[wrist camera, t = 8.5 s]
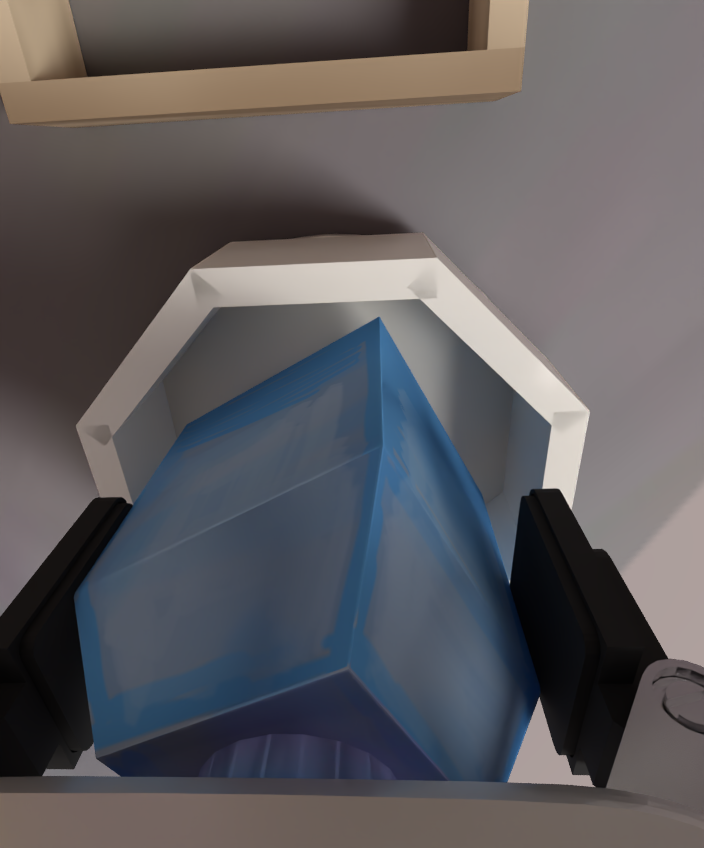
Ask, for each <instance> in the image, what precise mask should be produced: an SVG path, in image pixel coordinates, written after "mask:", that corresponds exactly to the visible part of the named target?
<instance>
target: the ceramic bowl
mask: <svg viewBox="0 0 704 848" xmlns="http://www.w3.org/2000/svg"><path fill="white" fill-rule="evenodd" d="M377 317H380V318H381V320H382V322H383V324H384V325H385V327H386V329H387V331H388V332H389V334H390V336H391V337H392V339H393V341H394V343H395V344H396V346H397V348H398V350H399V351H400V353H401V355H402V357H403V358H404V360H405V362H406V363H407V365H408V367H409V369H410V370H411V372H412V374H413V376H414V377H415V379H416V381H417V382H418V384H419V386H420V388H421V389H422V391H423V393H424V395H425V396H426V398H427V400H428V402H429V403H430V405H431V407H432V408H433V410H434V412H435V414H436V415H437V417H438V419H439V421H440V422H441V424H442V426H443V427H444V429H445V431H446V433H447V434H448V436H449V438H450V440H451V441H452V443H453V445H454V447H455V448H456V450H457V452H458V453H459V455H460V457H461V459H462V460H463V462H464V464H465V466H466V467H467V469H468V471H469V472H470V474H471V476H472V478H473V479H474V481H475V483H476V485H477V486H478V488H479V490H480V492H481V493H482V496H483V499H484V502H485V506H486V509H487V512H488V515H489V519H490V522H491V525H492V528H493V531H494V535H495V538H496V541H497V544H498V548H499V551H500V554H501V557H502V561H503V564H504V567H505V570H506V574H507V577H508V580H509V583H510V578H511V570H512V562H513V554H514V547H515V539H516V531H517V523H518V515H519V507H520V500H521V497H522V496H529V493H530V490H531V489H548V488H558V489H560V491H561V492H562V494H563V496H564V498H565V499H566V501H567V503H568V505H569V507H570V509H571V510H572V505H573V499H574V494H575V489H576V483H577V478H578V472H579V467H580V462H581V456H582V451H583V446H584V440H585V435H586V430H587V424H588V419H589V414H590V410H589V409H588V408H587V407H586V405H585V404H584V403H583V402H582V400H581V399H580V398H579V397H578V396H577V394H576V393H575V392H574V391H573V389H572V388H571V387H570V386H569V385H568V383H567V382H566V381H565V380H564V378H563V377H562V376H561V375H560V374H559V372H558V371H557V370H556V369H555V367H554V366H553V365H552V364H551V363H550V361H549V360H548V359H547V358H546V357H545V356H544V355H543V354H542V353H541V352H540V351H539V350H538V349H537V348H536V347H535V346H534V345H533V344H532V343H531V342H530V341H529V340H528V339H527V338H526V337H525V336H524V335H523V334H522V333H521V332H520V331H519V330H518V329H517V328H516V327H515V326H514V325H513V324H512V323H511V322H510V320H509V319H508V318H507V317H506V316H505V315H504V314H503V313H502V312H501V311H500V310H499V309H498V308H497V307H496V306H495V305H494V304H493V303H492V302H491V301H490V300H489V299H488V298H487V296H486V295H485V294H484V293H483V292H482V291H481V290H480V289H479V288H477V287H476V286H475V285H474V284H473V283H472V282H471V281H470V280H469V279H468V278H467V277H466V276H465V275H464V274H463V273H462V272H461V271H460V270H459V269H458V268H457V267H456V266H455V265H454V264H453V263H452V262H451V261H450V260H449V259H448V258H447V257H446V256H445V255H444V254H443V253H442V252H441V251H440V250H439V249H438V247H437V246H436V245H435V244H434V243H433V242H432V241H431V240H430V239H429V238H428V237H427V236H426V235H425V234H424V233H423V232H422V233H403V234H382V235H358V234H322V235H313V236H305V237H298V238H294V239H280V240H260V241H239V242H232V241H231V242H230V243H228V244H227V245H225V246H224V247H222V248H221V249H219V250H218V251H216V252H215V253H213V254H212V255H210V256H209V257H207V258H206V259H204V260H203V261H201V262H200V263H198V264H197V265H195V266H194V267H192V268H191V269H190V270H189V271H188V273H187V274H186V276H185V277H184V278H183V280H182V281H181V282H180V284H179V285H178V287H177V288H176V289H175V291H174V292H173V293H172V295H171V296H170V297H169V299H168V300H167V302H166V303H165V304H164V306H163V307H162V308H161V310H160V311H159V313H158V314H157V315H156V317H155V318H154V319H153V321H152V322H151V324H150V325H149V326H148V328H147V329H146V330H145V332H144V333H143V334H142V336H141V337H140V339H139V340H138V341H137V343H136V344H135V345H134V347H133V348H132V350H131V351H130V352H129V354H128V355H127V356H126V358H125V359H124V360H123V362H122V363H121V365H120V366H119V367H118V369H117V370H116V371H115V373H114V374H113V376H112V377H111V378H110V380H109V381H108V382H107V384H106V385H105V387H104V388H103V389H102V391H101V392H100V393H99V395H98V396H97V397H96V399H95V400H94V402H93V403H92V404H91V406H90V407H89V408H88V410H87V411H86V413H85V414H84V415H83V417H82V418H81V419H80V421H79V422H78V423H77V425H75V427H76V429H77V432H78V434H79V437H80V440H81V443H82V446H83V449H84V452H85V454H86V457H87V460H88V463H89V466H90V469H91V472H92V475H93V477H94V480H95V483H96V486H97V489H98V492H99V495H100V497H122V498H124V499H125V500H126V502H127V503H130V504H132V505H133V504H134V502H135V501H136V499H137V498H138V496H139V495H140V493H141V492H142V490H143V489H144V487H145V486H146V484H147V483H148V481H149V480H150V478H151V477H152V475H153V474H154V472H155V471H156V469H157V468H158V467H159V465H160V464H161V462H162V461H163V459H164V458H165V456H166V455H167V453H168V452H169V450H170V449H171V447H172V446H173V444H174V443H175V441H176V440H177V438H178V437H179V435H180V434H181V432H182V431H183V429H184V428H185V426H186V425H187V424H188V423H190V422H192V421H194V420H196V419H197V418H199V417H201V416H203V415H205V414H206V413H208V412H210V411H212V410H213V409H215V408H217V407H219V406H221V405H222V404H224V403H226V402H228V401H229V400H231V399H233V398H235V397H237V396H238V395H240V394H242V393H244V392H246V391H247V390H249V389H251V388H253V387H254V386H256V385H258V384H260V383H262V382H263V381H265V380H267V379H269V378H270V377H272V376H274V375H276V374H278V373H279V372H281V371H283V370H285V369H287V368H288V367H290V366H292V365H294V364H295V363H297V362H299V361H301V360H303V359H304V358H306V357H308V356H310V355H311V354H313V353H315V352H317V351H319V350H320V349H322V348H324V347H326V346H328V345H329V344H331V343H333V342H335V341H336V340H338V339H340V338H342V337H344V336H345V335H347V334H349V333H351V332H352V331H354V330H356V329H358V328H360V327H361V326H363V325H365V324H367V323H369V322H370V321H372V320H374V319H376V318H377Z"/></svg>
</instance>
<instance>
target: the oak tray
mask: <svg viewBox="0 0 704 848" xmlns="http://www.w3.org/2000/svg"><path fill="white" fill-rule="evenodd" d="M528 5H529V0H469V21H468V44H467V51H462V52H447V53H433V54H418V55H404V56H389V57H375V58H360V59H346V60H331V61H317V62H302V63H288V64H273V65H258V66H244V67H229V68H215V69H200V70H186V71H171V72H157V73H142V74H128V75H113V76H99V77H87V73H86V69H85V65H84V61H83V57H82V53H81V49H80V45H79V41H78V36H77V32H76V28H75V24H74V20H73V16H72V12H71V8H70V4H69V0H0V94H1V97H2V100H3V103H4V106H5V110H6V113H7V116H8V119H9V122H10V124H21V125H37V126H53V127H69V128H76V127H92V126H108V125H124V124H139V123H155V122H171V121H187V120H203V119H219V118H235V117H250V116H266V115H282V114H298V113H314V112H330V111H345V110H361V109H377V108H393V107H409V106H425V105H440V104H456V103H472V102H488V101H496V100H499V99H501V98H504V97H507V96H509V95H512V94H515V93H517V92H520V91H521V85H522V74H523V63H524V51H525V40H526V28H527V17H528Z"/></svg>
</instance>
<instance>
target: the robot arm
mask: <svg viewBox="0 0 704 848" xmlns="http://www.w3.org/2000/svg"><path fill="white" fill-rule="evenodd" d="M132 507H133V505H132V504H130V503H127V502H126V500H125V499H124V498H122V497H98V498H95V499H94V500H93V501H92V502H91V503H90V504H89V505H88V507H87V508H86V509H85V510H84V512H83V513H82V514H81V515H80V517H79V518H78V519H77V521H76V522H75V523H74V524H73V526H72V527H71V528H70V529H69V531H68V532H67V533H66V534H65V536H64V537H63V538H62V539H61V541H60V542H59V543H58V545H57V546H56V547H55V548H54V550H53V551H52V552H51V553H50V555H49V556H48V557H47V558H46V560H45V561H44V562H43V563H42V565H41V566H40V567H39V569H38V570H37V571H36V572H35V574H34V575H33V576H32V577H31V579H30V580H29V581H28V582H27V584H26V585H25V586H24V587H23V589H22V590H21V591H20V593H19V594H18V595H17V596H16V598H15V599H14V600H13V601H12V603H11V604H10V605H9V606H8V608H7V609H6V610H5V612H4V613H3V614H2V615H1V617H0V848H704V668H703V667H702V666H699V665H696V664H693V663H690V662H688V661H684V660H676V659H668V657H667V656H666V654H665V652H664V650H663V649H662V647H661V645H660V643H659V642H658V640H657V638H656V636H655V635H654V633H653V631H652V629H651V628H650V626H649V624H648V622H647V621H646V619H645V617H644V615H643V614H642V612H641V610H640V608H639V607H638V605H637V603H636V601H635V600H634V598H633V596H632V594H631V593H630V591H629V589H628V588H627V586H626V584H625V582H624V580H623V579H622V577H621V575H620V573H619V572H618V570H617V568H616V566H615V565H614V563H613V561H612V559H611V558H610V556H609V555H608V553H607V552H606V551H604V550H603V549H592V548H591V546H590V544H589V542H588V540H587V538H586V537H585V535H584V533H583V531H582V529H581V527H580V525H579V524H578V522H577V520H576V518H575V516H574V514H573V512H572V511H571V509H570V507H569V505H568V503H567V501H566V499H565V498H564V496H563V494H562V492H561V491H560V489H558V488H548V489H531V490H530V493H529V496H522V497H521V500H520V507H519V515H518V523H517V531H516V539H515V547H514V554H513V562H512V570H511V578H510V590H511V593H512V596H513V599H514V603H515V606H516V609H517V613H518V616H519V619H520V622H521V626H522V629H523V632H524V635H525V639H526V642H527V645H528V649H529V652H530V655H531V658H532V662H533V665H534V668H535V671H536V675H537V678H538V681H539V685H540V692H541V693H540V696H539V697H540V700H541V703H542V707H543V710H544V714H545V717H546V720H547V724H548V727H549V730H550V733H551V737H552V741H553V744H554V746H555V749H556V751H557V753H558V754H559V755H566V756H567V759H568V762H569V765H570V768H571V771H572V774H573V775H590V778H591V781H592V783H593V785H594V786H595V787H586V786H574V785H559V784H531V783H505V782H477V781H423V780H367V779H301V778H219V777H94V776H42V775H43V773H44V772H45V770H46V768H47V769H74V768H75V766H76V764H77V762H78V760H79V758H80V756H81V754H82V752H83V751H86V750H88V749H89V748H90V747H91V746H92V744H93V742H94V740H93V733H92V726H91V718H90V711H89V704H88V697H87V689H86V682H85V675H84V668H83V660H82V653H81V646H80V639H79V632H78V624H77V617H76V610H75V603H74V594H75V592H76V591H77V589H78V588H79V586H80V585H81V583H82V582H83V580H84V579H85V577H86V576H87V574H88V573H89V571H90V570H91V568H92V567H93V565H94V564H95V562H96V561H97V559H98V558H99V556H100V555H101V553H102V552H103V550H104V549H105V547H106V546H107V544H108V543H109V541H110V540H111V538H112V537H113V535H114V534H115V532H116V531H117V529H118V528H119V526H120V525H121V523H122V522H123V520H124V519H125V517H126V516H127V514H128V513H129V511H130V510H131V508H132Z"/></svg>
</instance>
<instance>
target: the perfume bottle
mask: <svg viewBox="0 0 704 848" xmlns="http://www.w3.org/2000/svg"><path fill="white" fill-rule="evenodd" d="M74 603H75V610H76V617H77V624H78V632H79V639H80V646H81V653H82V660H83V668H84V675H85V682H86V689H87V697H88V704H89V711H90V718H91V726H92V733H93V740H94V747H95V755H96V759H98V760H99V761H100V762H102V763H103V764H105V765H106V766H107V767H109V768H110V769H111V770H113V771H114V772H116V773H117V774H118V775H120V776H121V777H219V778H301V779H367V780H423V781H477V782H505V783H507V781H508V779H509V776H510V773H511V771H512V768H513V765H514V763H515V760H516V757H517V755H518V752H519V749H520V747H521V744H522V741H523V739H524V736H525V733H526V731H527V728H528V725H529V723H530V720H531V717H532V715H533V712H534V709H535V707H536V704H537V701H538V698H539V696H540V693H541V692H540V685H539V681H538V678H537V675H536V671H535V668H534V665H533V662H532V658H531V655H530V652H529V649H528V645H527V642H526V639H525V635H524V632H523V629H522V626H521V622H520V619H519V616H518V613H517V609H516V606H515V603H514V599H513V596H512V593H511V590H510V583H509V580H508V577H507V574H506V570H505V567H504V564H503V561H502V557H501V554H500V551H499V548H498V544H497V541H496V538H495V535H494V531H493V528H492V525H491V522H490V519H489V515H488V512H487V509H486V506H485V502H484V499H483V496H482V493H481V492H480V490H479V488H478V486H477V485H476V483H475V481H474V479H473V478H472V476H471V474H470V472H469V471H468V469H467V467H466V466H465V464H464V462H463V460H462V459H461V457H460V455H459V453H458V452H457V450H456V448H455V447H454V445H453V443H452V441H451V440H450V438H449V436H448V434H447V433H446V431H445V429H444V427H443V426H442V424H441V422H440V421H439V419H438V417H437V415H436V414H435V412H434V410H433V408H432V407H431V405H430V403H429V402H428V400H427V398H426V396H425V395H424V393H423V391H422V389H421V388H420V386H419V384H418V382H417V381H416V379H415V377H414V376H413V374H412V372H411V370H410V369H409V367H408V365H407V363H406V362H405V360H404V358H403V357H402V355H401V353H400V351H399V350H398V348H397V346H396V344H395V343H394V341H393V339H392V337H391V336H390V334H389V332H388V331H387V329H386V327H385V325H384V324H383V322H382V320H381V318H380V317H377V318H376V319H374V320H372V321H370V322H369V323H367V324H365V325H363V326H361V327H360V328H358V329H356V330H354V331H352V332H351V333H349V334H347V335H345V336H344V337H342V338H340V339H338V340H336V341H335V342H333V343H331V344H329V345H328V346H326V347H324V348H322V349H320V350H319V351H317V352H315V353H313V354H311V355H310V356H308V357H306V358H304V359H303V360H301V361H299V362H297V363H295V364H294V365H292V366H290V367H288V368H287V369H285V370H283V371H281V372H279V373H278V374H276V375H274V376H272V377H270V378H269V379H267V380H265V381H263V382H262V383H260V384H258V385H256V386H254V387H253V388H251V389H249V390H247V391H246V392H244V393H242V394H240V395H238V396H237V397H235V398H233V399H231V400H229V401H228V402H226V403H224V404H222V405H221V406H219V407H217V408H215V409H213V410H212V411H210V412H208V413H206V414H205V415H203V416H201V417H199V418H197V419H196V420H194V421H192V422H190V423H188V424H187V425H186V426H185V428H184V429H183V431H182V432H181V434H180V435H179V437H178V438H177V440H176V441H175V443H174V444H173V446H172V447H171V449H170V450H169V452H168V453H167V455H166V456H165V458H164V459H163V461H162V462H161V464H160V465H159V467H158V468H157V469H156V471H155V472H154V474H153V475H152V477H151V478H150V480H149V481H148V483H147V484H146V486H145V487H144V489H143V490H142V492H141V493H140V495H139V496H138V498H137V499H136V501H135V502H134V504H133V507H132V508H131V510H130V511H129V513H128V514H127V516H126V517H125V519H124V520H123V522H122V523H121V525H120V526H119V528H118V529H117V531H116V532H115V534H114V535H113V537H112V538H111V540H110V541H109V543H108V544H107V546H106V547H105V549H104V550H103V552H102V553H101V555H100V556H99V558H98V559H97V561H96V562H95V564H94V565H93V567H92V568H91V570H90V571H89V573H88V574H87V576H86V577H85V579H84V580H83V582H82V583H81V585H80V586H79V588H78V589H77V591H76V592H75V594H74Z"/></svg>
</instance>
